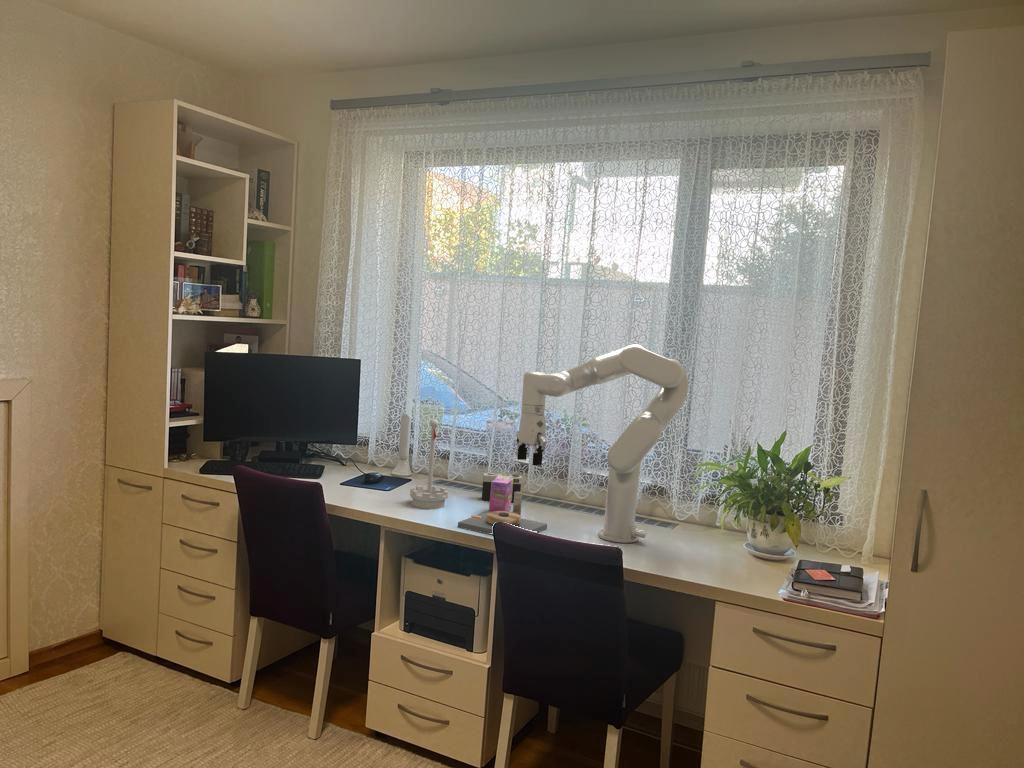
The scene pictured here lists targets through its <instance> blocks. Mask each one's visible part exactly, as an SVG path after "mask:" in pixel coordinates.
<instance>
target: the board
mask: <svg viewBox="0 0 1024 768" xmlns="http://www.w3.org/2000/svg"><path fill="white" fill-rule="evenodd" d="M488 512H489V510H487V511H485V512H483V513H480V514H477V515H475V514H472V515H470V517H469V518H466V519H463V520H460V521H458V522H457V528H460V527H461V528H460V529H464V528H466V529H465V530H469V529H471V530H470V531H473V530H477V531H476V532H478V531H481V532H480V533H482V532H485V533H484V534H487V533H492V526H493V524H490V523H488V522H486V514H487V513H488ZM516 526H518V527H521V528H524V529H528V530H532V531H537V532H538V533H540V532H542V531H544V530H547V529H548V523H547V522H546V523H545V522H541V521H537V520H531V519H528V518H527V519H526V518H523V515H521V523H520V524H519V525H516Z"/></svg>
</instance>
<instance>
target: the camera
mask: <svg viewBox="0 0 1024 768" xmlns="http://www.w3.org/2000/svg"><path fill="white" fill-rule="evenodd" d="M497 476H503V477H511V478H513V487H512V498H511V504H512V503H513V504H514V492H522V491H521V489H522V478H523V477H522V474H521V475H520V474H516V473H515V474H514V473H513V474H509V473H507V474H504V473H498V472H483V476H482V486H481V487H482V488H481V501H483V502H484V501H485V502H490V492H491V482H492V481H493V480H494V479H495V478H496V477H497Z"/></svg>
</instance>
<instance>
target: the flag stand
mask: <svg viewBox="0 0 1024 768" xmlns="http://www.w3.org/2000/svg"><path fill="white" fill-rule="evenodd" d="M429 426H430V427H431V431H430V447H429V460H428V465H429V466H428V474H427V475H428V477H427V487H426V488H424V486H423V485H416V487H413V486H412V487H411V488H410V490H409V492H410V493H409V496H410V498H411V499H412V506H413V507H416V508H419V509H426V510H429V509H430V510H436V509H437V510H438V509H441V508H444V507H445V501H446V500H447V499H449V490H447V488H445V487H440V489H437V486H436V485H433V475H434V462H435V460H434V459H435V450H436V449H435V448H436V439H437V433H436V432H437V428H438V427H439V421H438V419H435V418H434V419H431V420H430V422H429Z"/></svg>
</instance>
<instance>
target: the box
mask: <svg viewBox="0 0 1024 768" xmlns="http://www.w3.org/2000/svg"><path fill="white" fill-rule="evenodd" d="M512 487H513V478H511V477H503V476H497V477H496V478H495V479H494V480H493V481H492V482H491V492H490V501H489V506H488V511H489V512H493V511H506V512H511V511H512V510H511V508H512V503H511V498H512Z"/></svg>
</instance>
